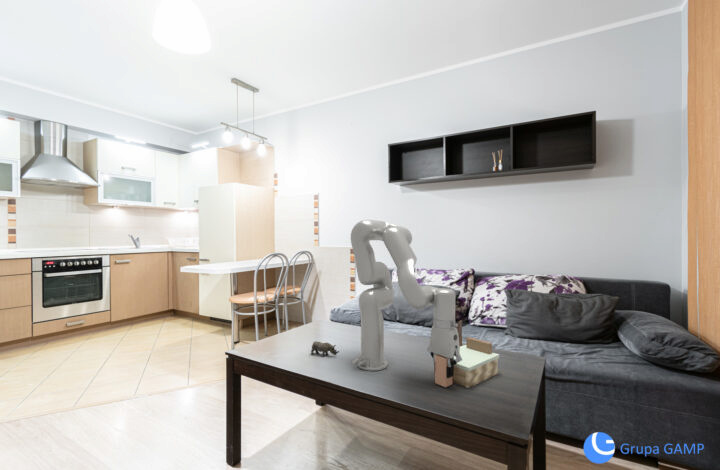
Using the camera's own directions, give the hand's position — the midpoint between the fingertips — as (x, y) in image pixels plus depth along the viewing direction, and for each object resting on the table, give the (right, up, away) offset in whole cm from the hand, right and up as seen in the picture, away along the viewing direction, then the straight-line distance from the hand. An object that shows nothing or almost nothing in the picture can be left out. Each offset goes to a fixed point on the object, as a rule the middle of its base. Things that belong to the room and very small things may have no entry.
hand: (443, 373), depth 117 cm
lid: (+11, +2, +9) cm, 14 cm away
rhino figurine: (-46, -5, +29) cm, 54 cm away
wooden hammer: (+13, -5, +38) cm, 41 cm away
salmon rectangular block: (0, -3, 0) cm, 3 cm away
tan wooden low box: (+11, -4, +9) cm, 15 cm away
